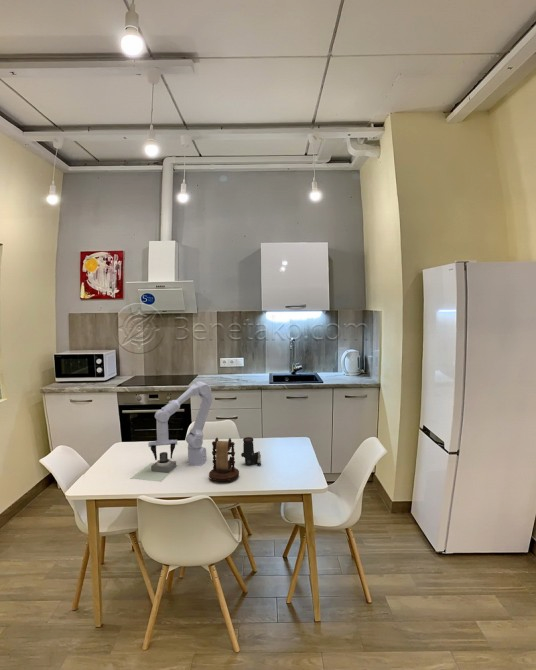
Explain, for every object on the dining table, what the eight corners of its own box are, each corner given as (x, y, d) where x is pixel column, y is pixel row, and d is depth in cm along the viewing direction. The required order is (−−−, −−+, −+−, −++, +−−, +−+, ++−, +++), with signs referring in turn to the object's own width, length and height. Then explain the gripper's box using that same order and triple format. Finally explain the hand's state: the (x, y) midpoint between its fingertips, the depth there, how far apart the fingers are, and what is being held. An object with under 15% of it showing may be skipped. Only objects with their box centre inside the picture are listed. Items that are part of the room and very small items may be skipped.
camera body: (176, 466, 218) (176, 459, 218) (169, 473, 210) (168, 465, 210) (159, 465, 221) (158, 457, 220) (151, 471, 213) (151, 463, 213)
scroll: (205, 483, 199) (203, 442, 197) (214, 470, 214) (213, 432, 212) (235, 484, 197) (233, 443, 195) (242, 472, 211) (241, 433, 209)
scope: (260, 440, 217) (241, 441, 215) (261, 466, 218) (242, 467, 217) (258, 435, 225) (240, 436, 224) (259, 460, 226) (240, 461, 225)
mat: (179, 466, 220) (179, 465, 220) (161, 482, 201) (160, 481, 201) (151, 463, 224) (151, 463, 224) (130, 479, 205) (129, 478, 205)
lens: (169, 462, 217) (168, 452, 216) (165, 465, 213) (165, 454, 212) (162, 461, 218) (161, 451, 217) (158, 464, 214) (158, 454, 213)
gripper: (177, 429, 219) (178, 454, 220) (148, 432, 217) (149, 457, 218) (176, 433, 212) (177, 459, 214) (147, 436, 210) (148, 462, 211)
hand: (163, 458), depth 215 cm, fingers open, 7 cm apart
